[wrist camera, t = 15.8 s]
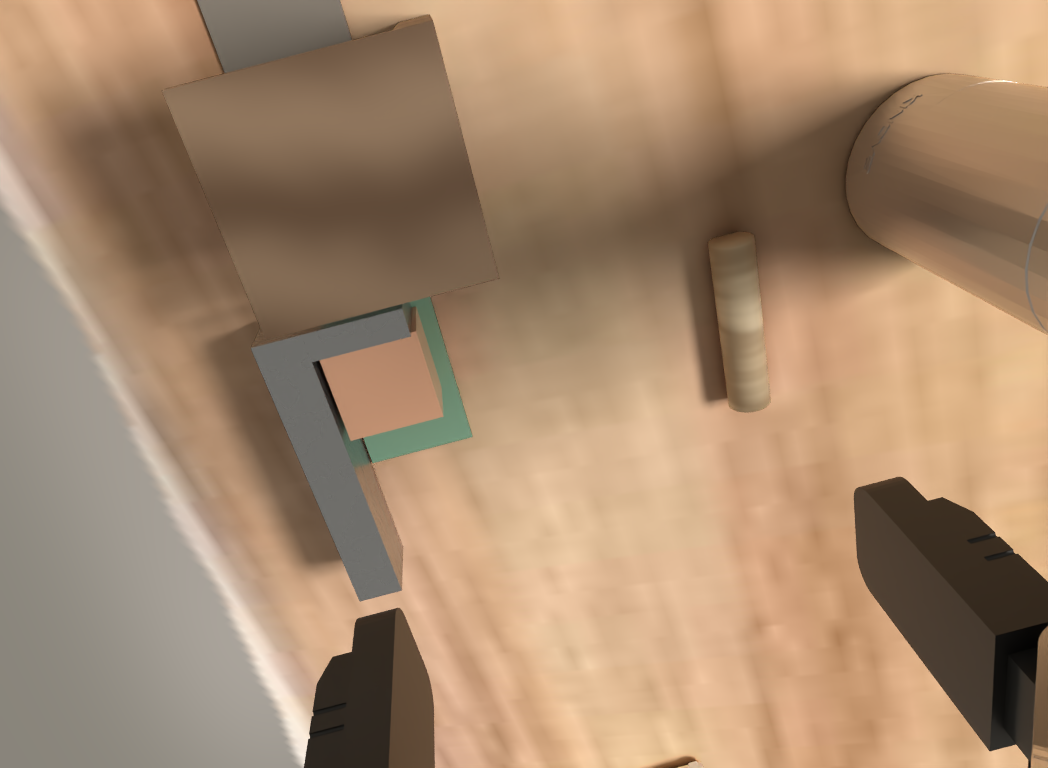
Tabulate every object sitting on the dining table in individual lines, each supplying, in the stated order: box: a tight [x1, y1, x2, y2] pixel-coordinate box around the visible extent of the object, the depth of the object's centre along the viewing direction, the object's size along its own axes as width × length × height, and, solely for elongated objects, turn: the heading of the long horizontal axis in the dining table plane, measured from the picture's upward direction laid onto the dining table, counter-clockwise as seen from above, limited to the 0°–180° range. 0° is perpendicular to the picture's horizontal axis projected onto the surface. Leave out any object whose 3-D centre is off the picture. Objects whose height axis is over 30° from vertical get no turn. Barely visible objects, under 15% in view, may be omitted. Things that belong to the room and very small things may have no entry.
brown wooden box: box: [162, 15, 499, 340], centre depth 35 cm, size 10×10×9 cm
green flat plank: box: [197, 0, 472, 463], centre depth 41 cm, size 25×6×1 cm, turn 13°
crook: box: [251, 302, 412, 601], centre depth 44 cm, size 16×8×4 cm, turn 13°
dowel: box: [708, 232, 771, 412], centre depth 44 cm, size 10×2×2 cm, turn 13°
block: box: [320, 307, 443, 441], centre depth 42 cm, size 5×5×4 cm
